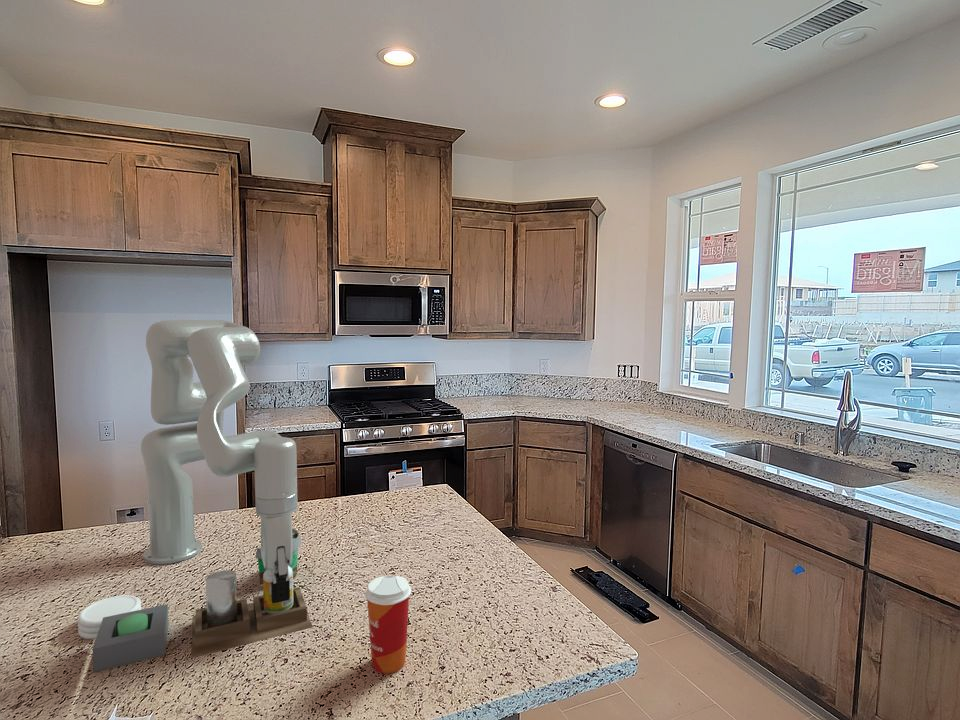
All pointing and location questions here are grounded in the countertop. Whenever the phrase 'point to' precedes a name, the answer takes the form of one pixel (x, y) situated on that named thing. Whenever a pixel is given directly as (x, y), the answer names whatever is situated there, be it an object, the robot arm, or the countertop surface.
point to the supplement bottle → (268, 604)
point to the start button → (133, 624)
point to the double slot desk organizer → (248, 625)
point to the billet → (221, 598)
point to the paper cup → (388, 622)
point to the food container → (295, 545)
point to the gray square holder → (130, 640)
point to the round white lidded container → (104, 613)
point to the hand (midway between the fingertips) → (278, 592)
